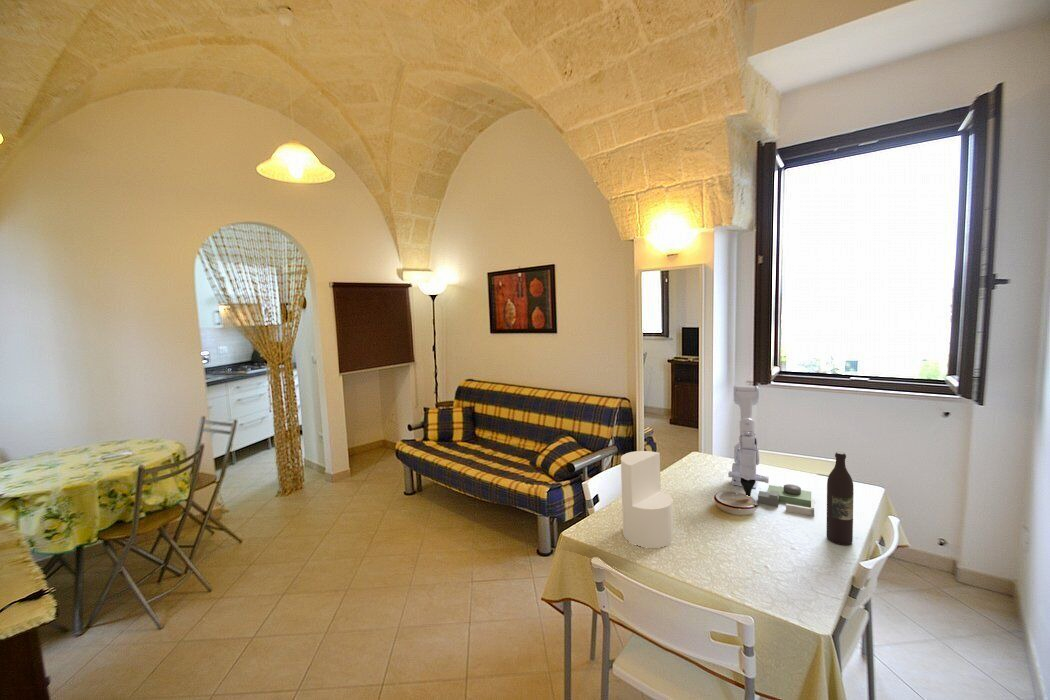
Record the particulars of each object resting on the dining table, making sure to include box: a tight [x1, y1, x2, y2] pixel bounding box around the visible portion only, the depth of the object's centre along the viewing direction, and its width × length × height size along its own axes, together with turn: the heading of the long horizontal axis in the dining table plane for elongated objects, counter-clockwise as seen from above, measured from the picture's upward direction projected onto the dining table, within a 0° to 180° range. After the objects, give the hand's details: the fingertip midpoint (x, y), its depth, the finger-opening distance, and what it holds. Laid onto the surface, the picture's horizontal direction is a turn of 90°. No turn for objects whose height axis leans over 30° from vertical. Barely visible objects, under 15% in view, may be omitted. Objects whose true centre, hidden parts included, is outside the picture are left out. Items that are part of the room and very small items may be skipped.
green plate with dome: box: [767, 483, 815, 517], centre depth 171 cm, size 16×17×4 cm
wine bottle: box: [826, 451, 854, 546], centre depth 142 cm, size 7×7×30 cm
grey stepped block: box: [757, 490, 780, 508], centre depth 172 cm, size 7×5×5 cm
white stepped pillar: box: [620, 450, 675, 549], centre depth 151 cm, size 17×17×28 cm
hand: (748, 496), depth 176 cm, fingers closed
